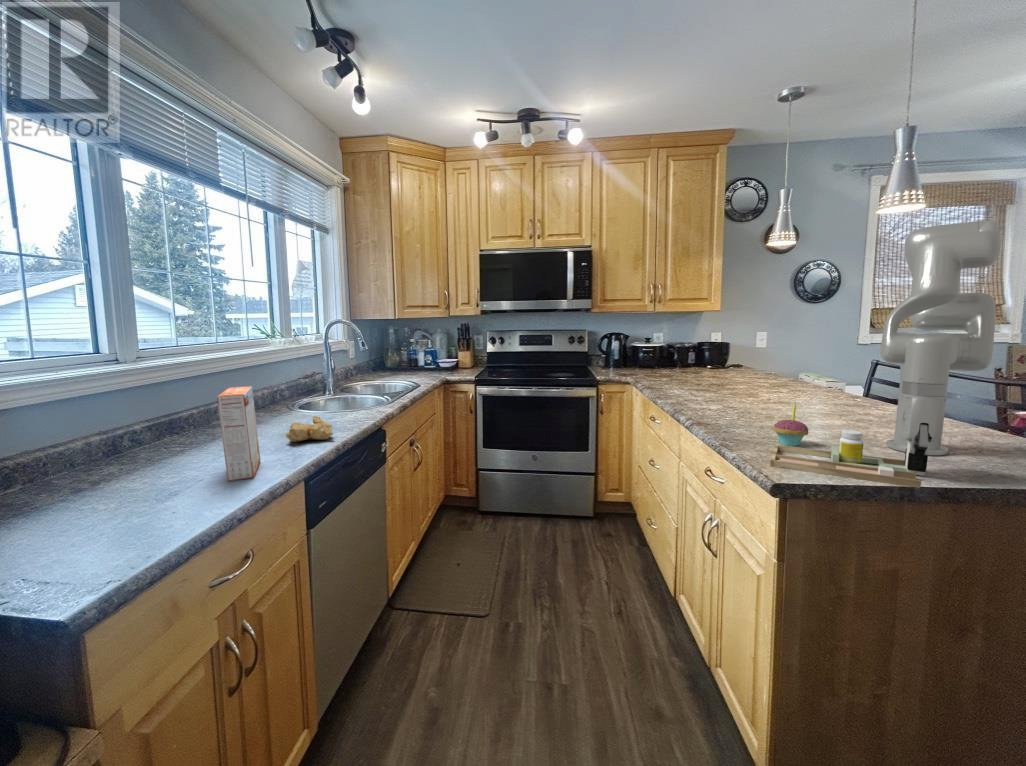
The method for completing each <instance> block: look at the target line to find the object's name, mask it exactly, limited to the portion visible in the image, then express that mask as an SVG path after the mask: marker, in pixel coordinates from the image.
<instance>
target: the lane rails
mask: <svg viewBox="0 0 1026 766" xmlns="http://www.w3.org/2000/svg"><path fill="white" fill-rule="evenodd" d="M778 450H781V451H780V452H783V451H789V452H788V453H790V452H794V453H793V454H798V453H801V455H806V454H808V455H809V456H814V455H815V457H822V456H823V457H824V458H830V457H831V451H830V450H822V449H816V448H815V449H813V448H806V447H805V448H804V447H798V446H786V445H782V444H781V445H780V444H775V445H774V447H773V451H772V454H771V458H770V461H769V462H770V463H769V464H770V465H771V466H770V465H769V466H770V467H772V466H779V467H785V468H784V469H786V468H790V469H789V470H793V469H795V470H794V471H800V470H801V471H802V472H808V473H815V474H821V475H829V476H836V477H843V478H849V479H856V480H864V481H870V482H871V481H872V482H875V483H876V482H878V483H883V484H890V485H897V486H898V485H899V486H904V487H905V486H906V487H912V488H918V489H920V488H921V486H922V480H921V479H916V477H917V475H916V473H914V472H906V471H899V470H894V476H886V475H878V474H871V473H864V472H857V471H849V470H842V469H836V466H843V467H851V468H858V469H866V470H873V471H878V468H876V467H868V466H861V465H853V464H845V463H838V462H831V461H829V460H821V459H815V458H805V457H798V456H792V455H791V456H790V455H784V454H778V453H777V452H779V451H778ZM823 457H822V458H823ZM862 457H870V458H878V459H882V460H883V462H884V463H886V464H894V465H902V466H905V463H904V462H905V459H897V458H888V457H887V458H886V457H881V456H873V455H872V456H871V455H865V454H862ZM780 458H784V459H791V460H799V461H806V462H814V463H818V466H813V465H806V464H798V463H791V462H784V461H777V460H780ZM779 467H778V468H779Z"/></svg>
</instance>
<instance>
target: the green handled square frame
mask: <svg viewBox="0 0 1026 766" xmlns="http://www.w3.org/2000/svg"><path fill="white" fill-rule="evenodd" d="M911 442H912V441H908V444H907V453H906V452H905V453H906V462H905V466H902V465H894V464H886V463H884V462H883V460H882V459H878V458H870V457H862V463H863V464H854V463H846V462H839V452H838V450H839V446H834V445H832V446H831V458H830V460H831V461H830V462H838V463H845V464H853V465H861V466H868V467H876V468H878V466H883V467H890V468H893V470H899V471H906V472H914V473H916V476H925V474H926V472H919V471H912V470H908V469H907V464H908V455H909V453H911ZM916 444H918V443H915V445H916ZM864 463H866V464H867V465H866V464H864ZM868 464H872V465H868ZM873 464H874V465H873Z"/></svg>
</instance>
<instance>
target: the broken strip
mask: <svg viewBox="0 0 1026 766" xmlns="http://www.w3.org/2000/svg"><path fill="white" fill-rule="evenodd" d="M780 461H784V462H791V463H798V464H806V465H813V466H818V463H814V462H806V461H799V460H791V459H784V458H780ZM877 467H878V471H873V470H866V469H858V468H851V467H843V466H836V469H842V470H849V471H857V472H864V473H871V474H878V475H886V476H894V470H893V468H890V467H883V466H877Z"/></svg>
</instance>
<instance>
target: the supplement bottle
mask: <svg viewBox="0 0 1026 766" xmlns="http://www.w3.org/2000/svg"><path fill="white" fill-rule="evenodd" d="M862 438H863V432H862V431H858V430H854V429H853V430H852V429H843V430H841V437H840V438H839V440H838V441H839V442H838V452H839V462H846V463H854V464H862V463H863V462H862V455H863V453H864V452H863V450H864V441H863V440H862ZM862 465H863V464H862Z"/></svg>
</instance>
